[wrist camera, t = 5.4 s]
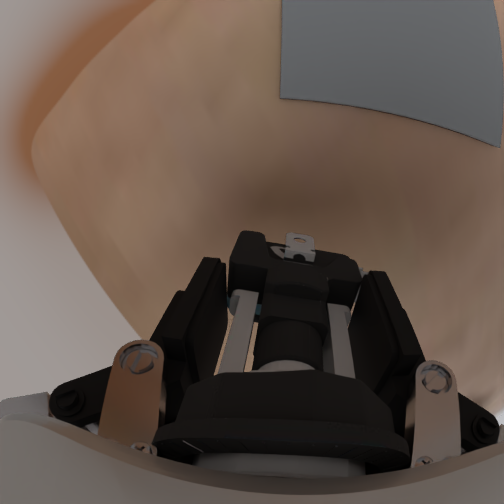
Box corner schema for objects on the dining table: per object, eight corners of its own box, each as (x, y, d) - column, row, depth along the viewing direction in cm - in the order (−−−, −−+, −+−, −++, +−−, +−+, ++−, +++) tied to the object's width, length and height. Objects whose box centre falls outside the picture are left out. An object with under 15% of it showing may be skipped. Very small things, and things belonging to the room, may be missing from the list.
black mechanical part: (396, 223, 10) (521, 456, 2) (359, 320, 13) (386, 522, 4) (236, 194, 11) (86, 456, 2) (227, 301, 13) (159, 508, 5)
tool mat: (487, 0, 7) (492, -2, 6) (493, 146, 13) (500, 148, 12) (281, -65, 8) (281, -70, 7) (279, 98, 14) (280, 97, 13)
